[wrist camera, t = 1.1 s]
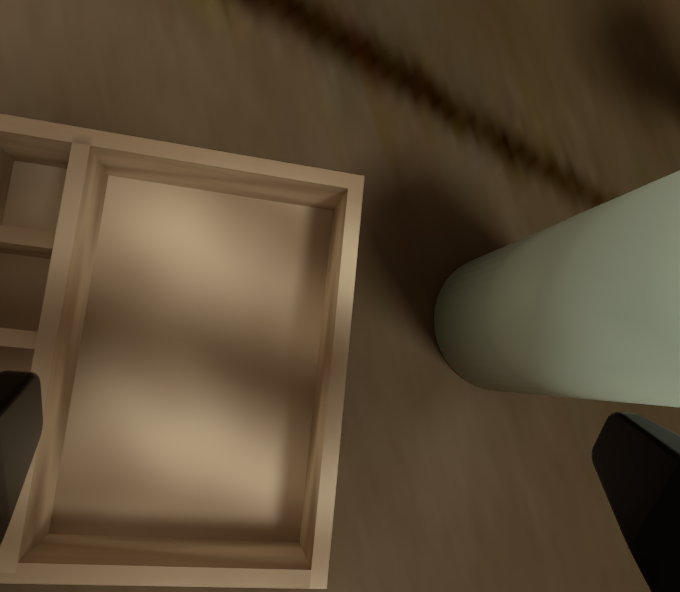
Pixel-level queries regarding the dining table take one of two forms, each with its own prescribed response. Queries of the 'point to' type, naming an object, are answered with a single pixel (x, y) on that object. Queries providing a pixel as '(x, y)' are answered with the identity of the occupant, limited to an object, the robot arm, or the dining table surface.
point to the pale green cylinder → (575, 306)
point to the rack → (174, 358)
